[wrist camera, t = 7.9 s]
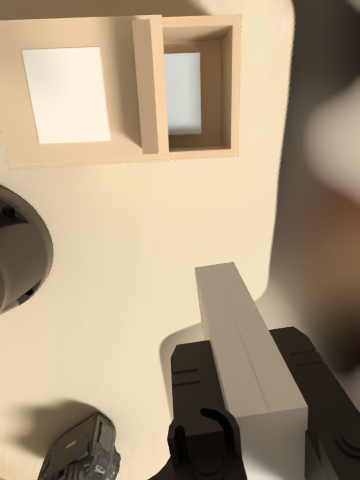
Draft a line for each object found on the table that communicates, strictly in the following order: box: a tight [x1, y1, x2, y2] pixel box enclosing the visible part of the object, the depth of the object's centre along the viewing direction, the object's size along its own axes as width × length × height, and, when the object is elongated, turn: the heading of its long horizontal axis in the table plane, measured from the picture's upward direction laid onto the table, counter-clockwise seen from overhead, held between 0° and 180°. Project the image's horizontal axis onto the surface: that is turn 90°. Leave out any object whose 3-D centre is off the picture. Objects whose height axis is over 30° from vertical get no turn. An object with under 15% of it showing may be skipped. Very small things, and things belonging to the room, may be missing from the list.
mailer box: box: [162, 14, 242, 160], centre depth 30 cm, size 14×11×6 cm
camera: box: [38, 413, 121, 480], centre depth 45 cm, size 13×10×10 cm
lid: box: [0, 15, 169, 169], centre depth 25 cm, size 14×11×4 cm
